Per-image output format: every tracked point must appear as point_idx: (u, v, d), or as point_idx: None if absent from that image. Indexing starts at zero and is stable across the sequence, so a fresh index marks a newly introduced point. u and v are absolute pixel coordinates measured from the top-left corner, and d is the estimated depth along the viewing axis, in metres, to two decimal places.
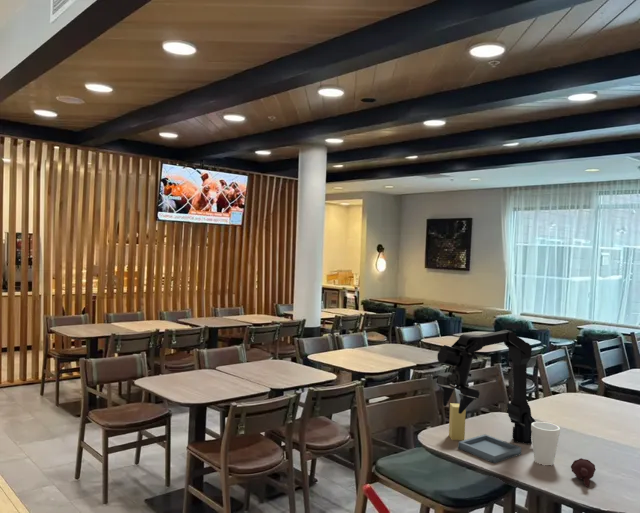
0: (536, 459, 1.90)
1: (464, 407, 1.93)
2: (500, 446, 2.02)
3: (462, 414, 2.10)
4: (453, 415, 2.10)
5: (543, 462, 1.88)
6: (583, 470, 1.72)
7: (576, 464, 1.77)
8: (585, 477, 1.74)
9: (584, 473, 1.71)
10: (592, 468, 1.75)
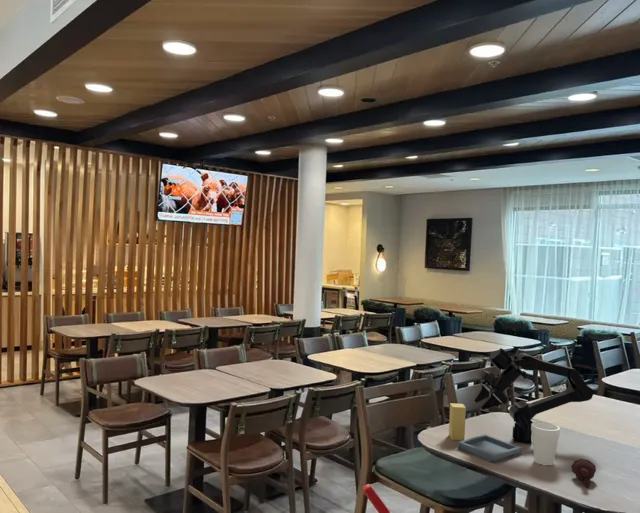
0: (536, 459, 1.90)
1: (488, 406, 2.06)
2: (500, 446, 2.02)
3: (462, 414, 2.10)
4: (453, 415, 2.10)
5: (543, 462, 1.88)
6: (583, 470, 1.71)
7: (576, 464, 1.77)
8: (585, 477, 1.73)
9: (584, 473, 1.71)
10: (592, 469, 1.75)
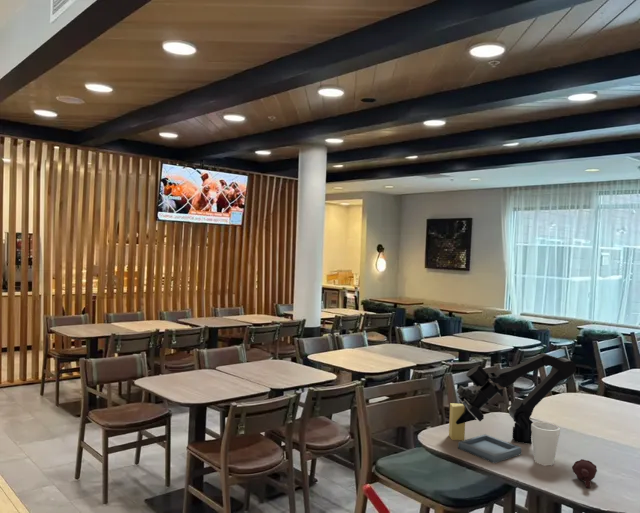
0: (536, 459, 1.90)
1: (463, 421, 2.08)
2: (500, 446, 2.02)
3: None
4: (453, 415, 2.10)
5: (543, 462, 1.88)
6: (584, 471, 1.71)
7: (577, 465, 1.76)
8: (586, 478, 1.73)
9: (585, 474, 1.70)
10: (593, 469, 1.74)
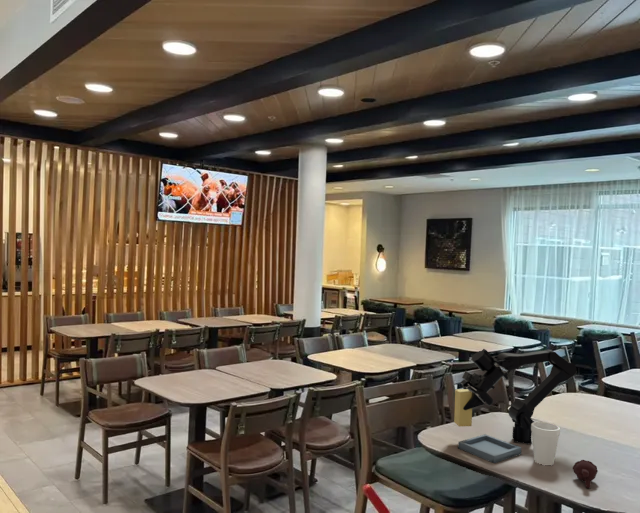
0: (536, 459, 1.90)
1: (470, 406, 2.05)
2: (500, 446, 2.02)
3: None
4: (460, 401, 2.05)
5: (543, 462, 1.88)
6: (584, 471, 1.71)
7: (578, 465, 1.76)
8: (586, 478, 1.72)
9: (585, 474, 1.70)
10: (593, 470, 1.74)
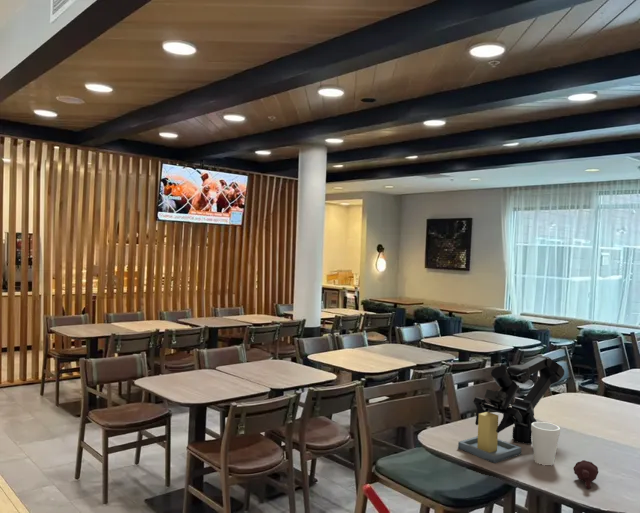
0: (536, 459, 1.90)
1: (503, 428, 1.94)
2: (500, 446, 2.02)
3: (496, 423, 1.97)
4: (490, 426, 1.95)
5: (543, 462, 1.88)
6: (584, 472, 1.70)
7: (578, 466, 1.76)
8: (587, 479, 1.72)
9: (585, 475, 1.70)
10: (594, 470, 1.73)
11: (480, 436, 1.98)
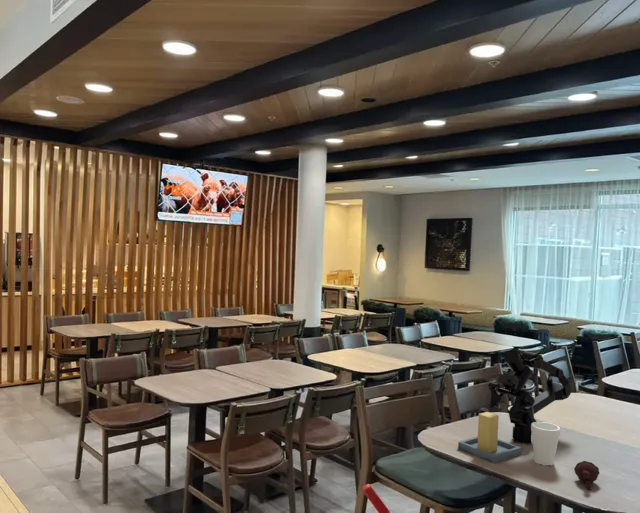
0: (536, 459, 1.90)
1: (515, 410, 2.00)
2: (500, 446, 2.02)
3: (496, 423, 1.97)
4: (490, 426, 1.95)
5: (543, 462, 1.88)
6: (584, 472, 1.70)
7: (579, 466, 1.75)
8: (587, 480, 1.72)
9: (585, 475, 1.69)
10: (595, 471, 1.73)
11: (480, 436, 1.98)
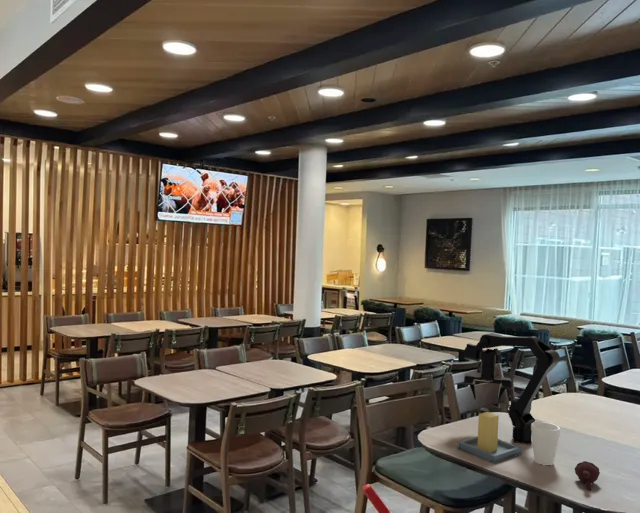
0: (536, 459, 1.90)
1: (473, 393, 2.24)
2: (500, 446, 2.02)
3: (496, 423, 1.97)
4: (490, 426, 1.95)
5: (543, 462, 1.88)
6: (585, 473, 1.70)
7: (579, 467, 1.75)
8: (587, 480, 1.71)
9: (585, 476, 1.69)
10: (595, 472, 1.72)
11: (480, 436, 1.98)
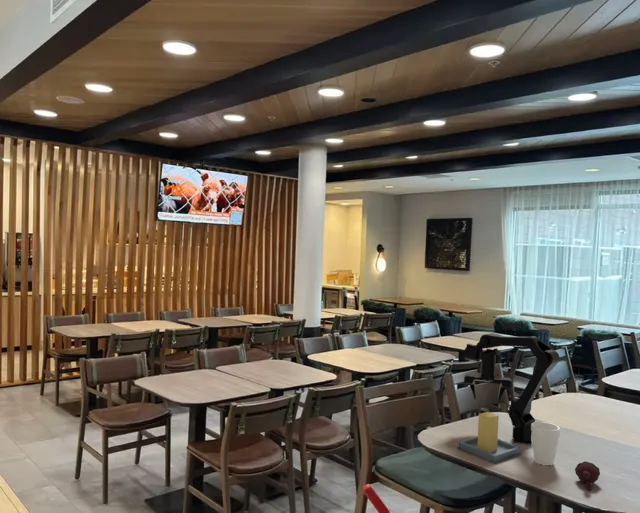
0: (536, 459, 1.90)
1: (473, 393, 2.24)
2: (500, 446, 2.02)
3: (496, 423, 1.97)
4: (490, 426, 1.95)
5: (543, 462, 1.88)
6: (585, 473, 1.69)
7: (579, 467, 1.75)
8: (588, 480, 1.71)
9: (586, 476, 1.69)
10: (595, 472, 1.72)
11: (480, 436, 1.98)
